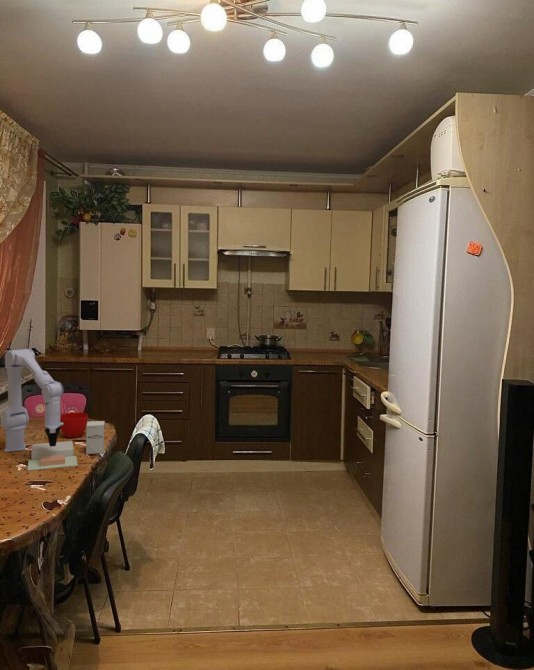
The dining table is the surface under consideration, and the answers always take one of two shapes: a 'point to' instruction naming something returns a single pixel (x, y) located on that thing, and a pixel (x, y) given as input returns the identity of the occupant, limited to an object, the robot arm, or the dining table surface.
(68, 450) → the deck
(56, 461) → the tile
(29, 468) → the mat
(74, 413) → the ceramic cup
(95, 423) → the supplement box
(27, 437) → the dining table surface
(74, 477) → the dining table surface
